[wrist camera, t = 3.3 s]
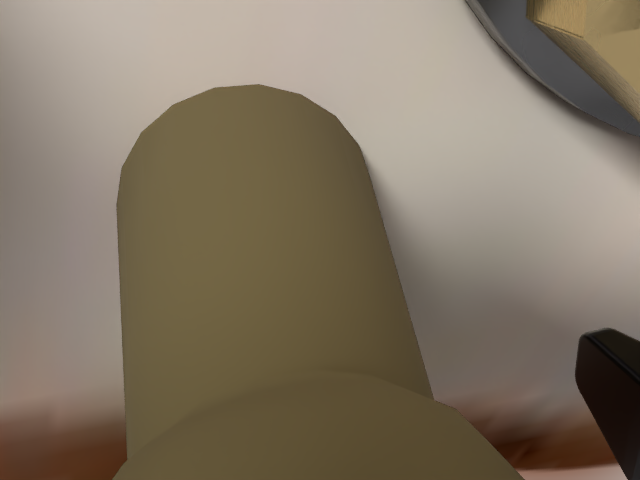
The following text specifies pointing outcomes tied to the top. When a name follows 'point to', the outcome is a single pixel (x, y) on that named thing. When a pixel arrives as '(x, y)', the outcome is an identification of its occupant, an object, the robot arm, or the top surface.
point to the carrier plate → (575, 51)
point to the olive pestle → (270, 307)
